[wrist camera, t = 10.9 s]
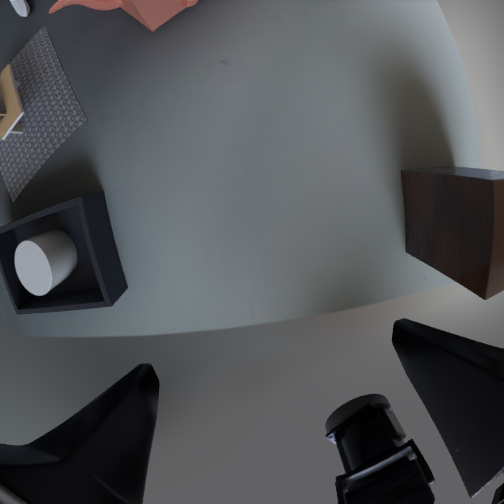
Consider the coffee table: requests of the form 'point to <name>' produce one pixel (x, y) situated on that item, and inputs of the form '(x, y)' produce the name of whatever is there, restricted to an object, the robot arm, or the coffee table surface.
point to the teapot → (136, 8)
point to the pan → (88, 257)
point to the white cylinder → (45, 261)
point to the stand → (457, 224)
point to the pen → (21, 7)
